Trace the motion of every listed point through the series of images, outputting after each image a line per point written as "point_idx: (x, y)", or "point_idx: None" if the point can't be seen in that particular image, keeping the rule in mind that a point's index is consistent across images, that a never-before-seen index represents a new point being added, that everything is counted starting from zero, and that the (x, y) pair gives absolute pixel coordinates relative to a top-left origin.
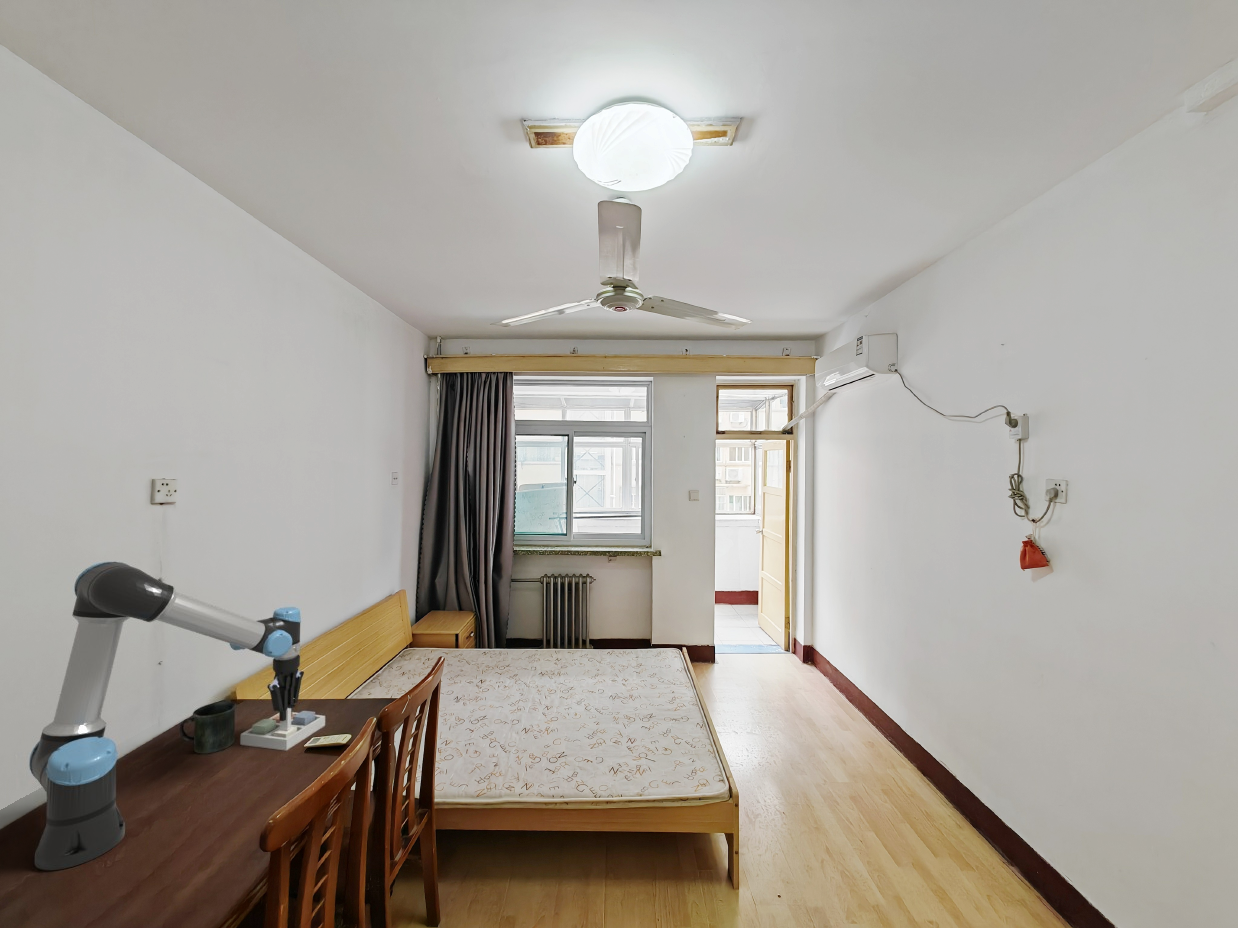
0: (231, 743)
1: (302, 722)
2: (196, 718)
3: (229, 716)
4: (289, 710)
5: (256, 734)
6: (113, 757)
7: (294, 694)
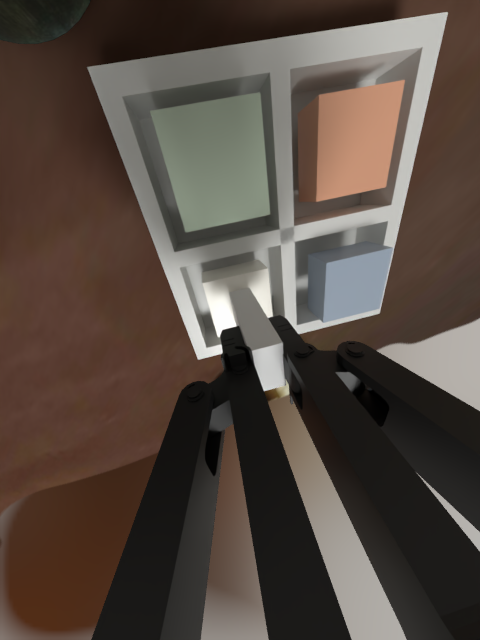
0: (61, 34)
1: (312, 303)
2: None
3: None
4: (269, 382)
5: (155, 199)
6: None
7: (388, 430)
